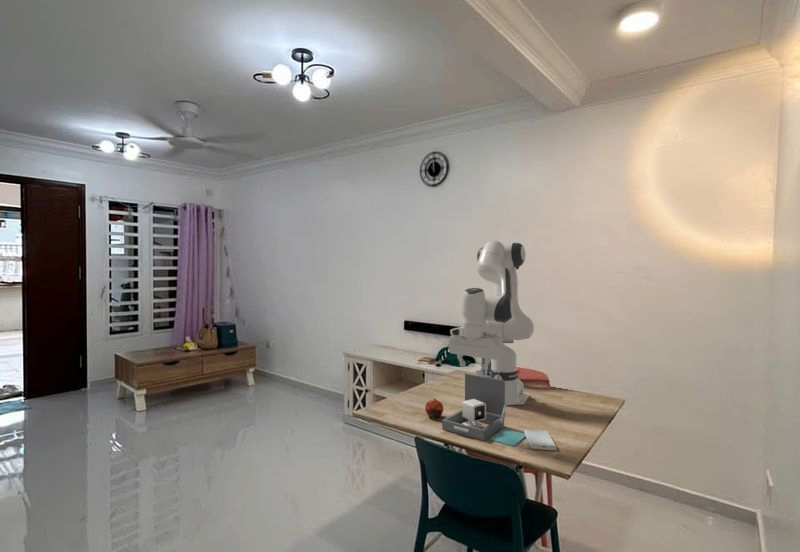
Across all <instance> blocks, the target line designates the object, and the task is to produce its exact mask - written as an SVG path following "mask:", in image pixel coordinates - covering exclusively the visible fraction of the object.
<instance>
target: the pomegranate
mask: <svg viewBox="0 0 800 552" xmlns="http://www.w3.org/2000/svg"><path fill="white" fill-rule="evenodd" d="M424 410H425V412H426V414H427V415H428V417H430V418H431V417H432V421H434V419H435V416H436V418H437V417H438V418H439V417H441V416H442V415H443V412H444V405H443V403H442V402H441V401H439V400H437V399H436V398H433V399H432V400H429V401H427V402H426V403H425V407H424Z"/></svg>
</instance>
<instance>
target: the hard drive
mask: <svg viewBox="0 0 800 552" xmlns="http://www.w3.org/2000/svg"><path fill="white" fill-rule="evenodd" d="M523 434H525V436H526V437H525V438H526V441H528V444H529V446H530V447H531V449H532V450H546V451H557V448H558V447H557V445H556V443H555V442H554V439H553V438H552V436H551V435H550V434H549V432H548V430H540V429H539V430H537V429H524V433H523Z"/></svg>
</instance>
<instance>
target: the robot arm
mask: <svg viewBox="0 0 800 552" xmlns="http://www.w3.org/2000/svg"><path fill="white" fill-rule="evenodd" d="M526 253H527V252H526V249H525V247H524V245H523V244H522V243H520V242H513V243H512V242H511V243H506V242H505V243H502V242H500V241H499V240H490V241H488V242H486V243H485V244H484V246H482V247H481V248H479V250H478V251H477V254H476V255H477V256H476V258H477V259H476V260H477V267H476V268H477V273H478V274H479V276H480V277H481V278H482V279H484V280H485V281H487V282H491V283H493V284H492V285H493V287H492V288H493V289H492V296H491V295H490V296H489V295H486V294H485V291H484V289H483V288H480V287H472V288H470V287H469V288H466V289H465V290H463V296H462V301H461V303H462V304H461V313H462V321H461V326H458V327H455V328H452V329H450V330H449V332H450V337H449V338H448V352H449V353H450V354H454V355H456V357H457V360H458V362H459V366H460V367H463V368H464V367H466V361H465V360H464V358H463V357H464V356H467V357H473V358H480V359H481V358H485V361H486V363H485V364H484V365H482V370H488V364H489V363H490V361H491V369H490V377H491V378H494V379H500V380H505V405H506V406H522V405H525V404H526V402H527V400H528V399H529V398H530V393H527V392H525V385H524V382H522V381H521V380H520V379H519V374H520V373H521V370H520V369H519V368H517V353H516V351H515V349H513V348H511V347H509V346H508V345H506V344H505V343H503V342H502V340H504V339H508V340H514V341H522V340H528V339H530V338H531V337H532V336H533V334H534V330H535V326H534V323H533V320H532V319H531V318H530V317H528V316H527V315H526V314H525V313H524V312H523V311H522V309H521V308H520V304H519V298H518V296H519V295H518V294H519V293H518V289H519V287H518V285H519V284H518V283H519V282H518V276H517V275H518V274H517V270H519V269H520V267H521V266H522V265H523V264H524V262H525V261H526V260H525V259H526Z"/></svg>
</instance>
